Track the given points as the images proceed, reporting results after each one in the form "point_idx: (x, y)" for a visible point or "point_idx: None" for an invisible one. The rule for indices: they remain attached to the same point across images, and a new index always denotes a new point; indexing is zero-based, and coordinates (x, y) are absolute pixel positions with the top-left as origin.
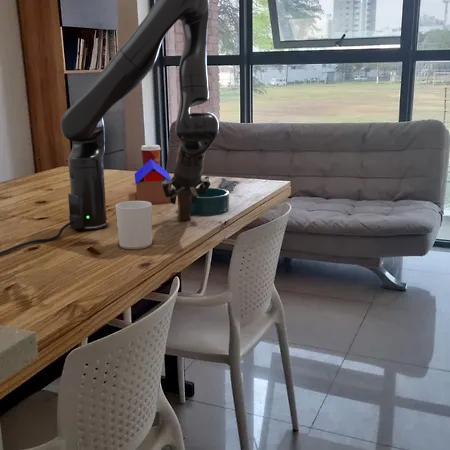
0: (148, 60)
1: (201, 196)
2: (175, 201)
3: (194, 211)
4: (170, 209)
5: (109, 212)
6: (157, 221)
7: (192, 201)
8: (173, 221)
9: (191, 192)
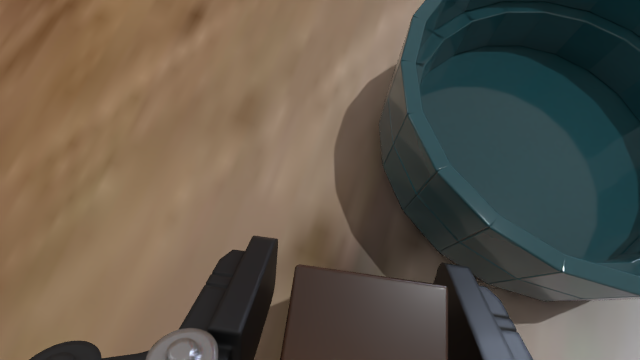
0: None
1: (547, 15)
2: (259, 333)
3: (437, 247)
4: (332, 66)
5: (30, 9)
6: (156, 303)
7: None
8: None
9: (473, 350)
